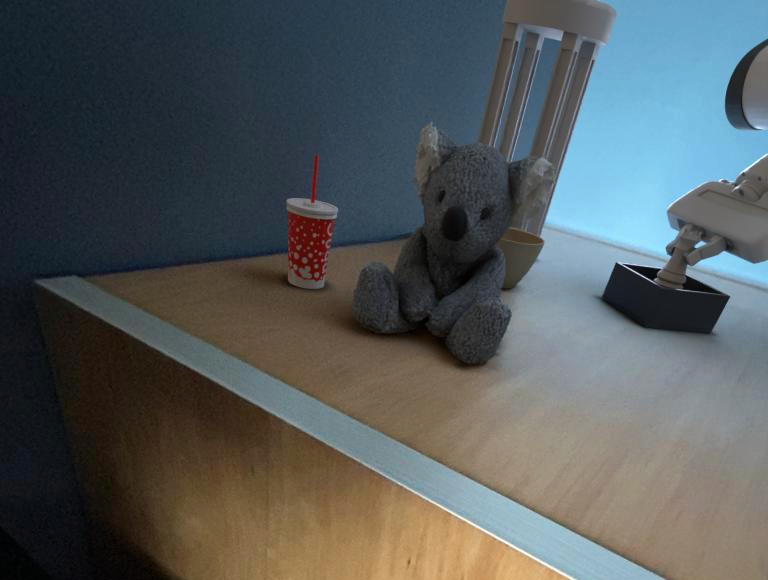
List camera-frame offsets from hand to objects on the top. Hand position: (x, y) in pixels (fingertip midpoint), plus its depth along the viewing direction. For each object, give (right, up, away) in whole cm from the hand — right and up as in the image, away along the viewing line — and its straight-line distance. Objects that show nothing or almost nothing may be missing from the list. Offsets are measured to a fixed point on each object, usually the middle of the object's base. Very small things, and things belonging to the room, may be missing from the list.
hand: (677, 257), depth 84 cm
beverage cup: (-53, -9, -12) cm, 55 cm away
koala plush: (-37, -16, -16) cm, 44 cm away
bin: (-1, -7, +5) cm, 9 cm away
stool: (-23, +9, +19) cm, 32 cm away
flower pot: (-26, -2, +4) cm, 26 cm away
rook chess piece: (0, -3, +3) cm, 5 cm away
